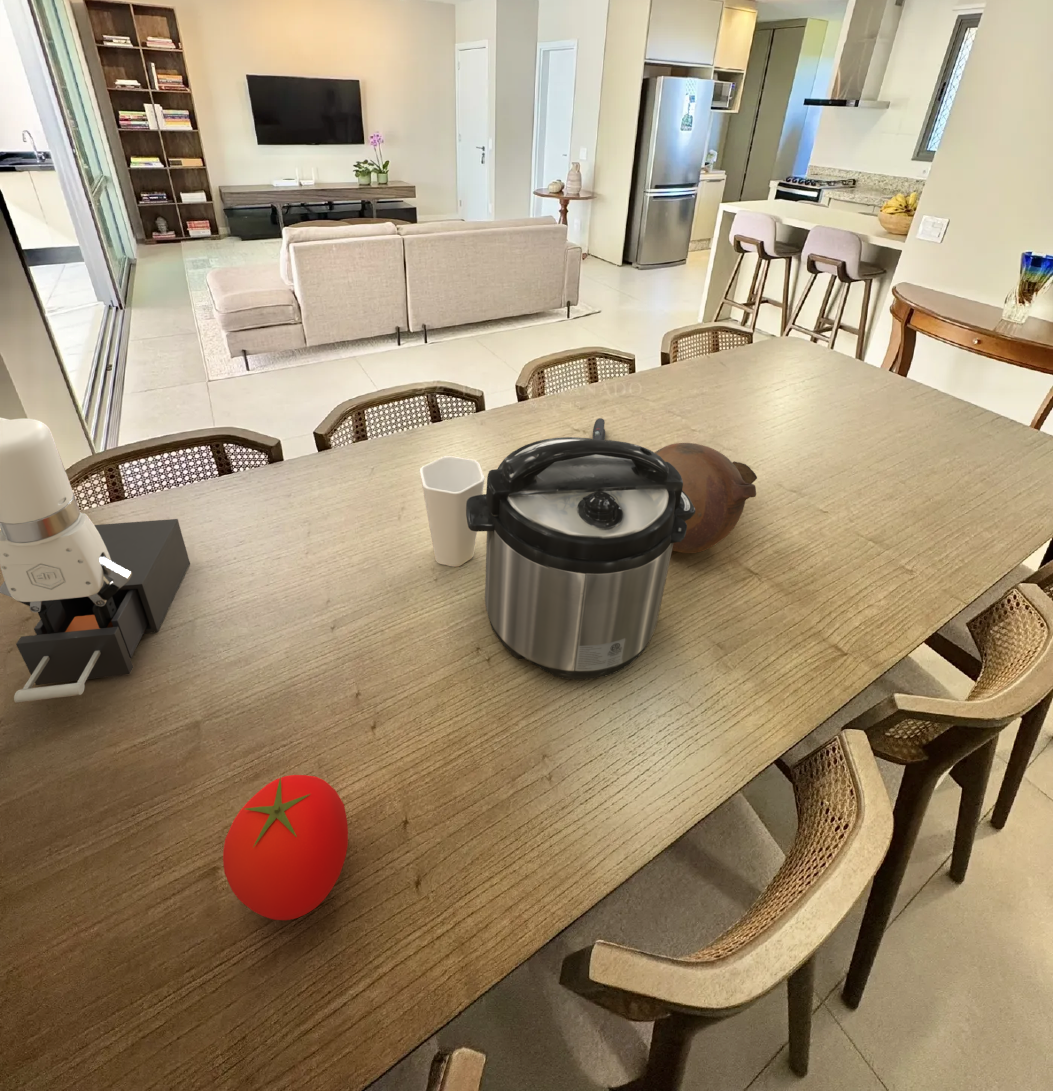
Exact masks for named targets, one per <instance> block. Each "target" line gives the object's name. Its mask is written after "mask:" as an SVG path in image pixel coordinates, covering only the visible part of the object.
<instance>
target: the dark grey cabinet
mask: <svg viewBox="0 0 1053 1091" xmlns="http://www.w3.org/2000/svg"><path fill="white" fill-rule="evenodd" d="M94 526H95V527H96V529H97V531H98V532H99V534H100V536H101V538H102V540H103V542H104V544H105V546H106V548H107V551H108V553H109V555H110V558H111V561H112V562H114V563H116V564H118V565H119V566H121V567H123V568H125V569H127V570H128V571H130V572H131V573H132V575H131V577H130V579H129V581H128V582H127V583H126V584H125V585H124V586H122V587H121V588H120V589H118V590H128V589H138V592H139V595H140V597H141V600H142V603H143V606H144V609H145V612H146V615H147V618H148V621H149V623H148V625H147V627H146V629H145V631H144V633H143V635H144V634H153V633H159V631H160V629H161V627H162V624H163V622H164V620H165V618H166V617H167V616H166V615H167V613H168V611H169V609H170V607H171V605H172V603H173V601H174V599H175V596H176V594H177V592H178V591H179V588H180V587H181V584H182V581H183V580H184V578H185V575H186V573H187V572H188V569H189V567H190V565H191V561H190V558H189V555H188V551H187V546H186V544H185V541H184V536H183V533H182V529H181V525H180V523H179V519H178V518H171V519H169V518H168V519H158V520H144V521H143V520H141V521H130V522H117V523H115V522H114V523H104V524H102V523H101V524H94ZM103 575H104V574H103ZM104 576H105V578H106V579H107V580H108V581H109V582H111V581H112V580H113V579H112V578H110V577H108V576H106V575H104ZM101 591H102V590H101V589H100V592H101Z"/></svg>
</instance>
